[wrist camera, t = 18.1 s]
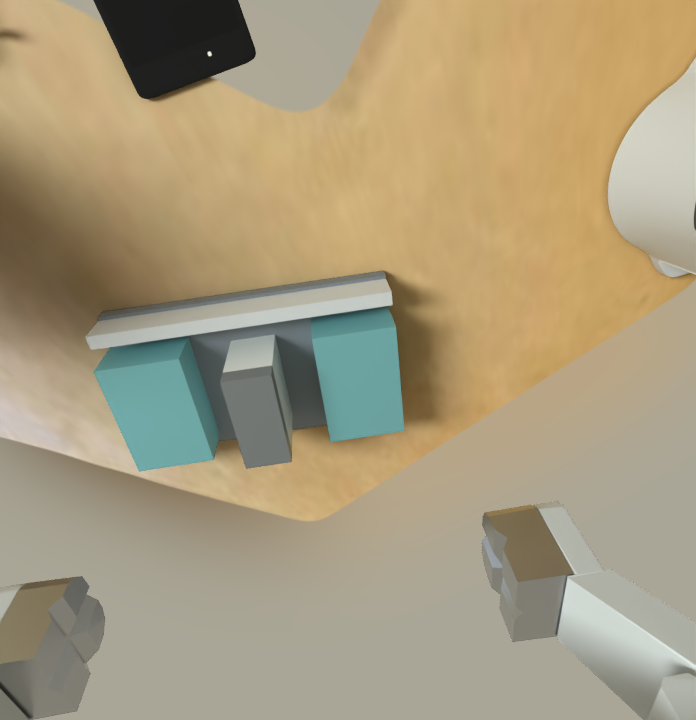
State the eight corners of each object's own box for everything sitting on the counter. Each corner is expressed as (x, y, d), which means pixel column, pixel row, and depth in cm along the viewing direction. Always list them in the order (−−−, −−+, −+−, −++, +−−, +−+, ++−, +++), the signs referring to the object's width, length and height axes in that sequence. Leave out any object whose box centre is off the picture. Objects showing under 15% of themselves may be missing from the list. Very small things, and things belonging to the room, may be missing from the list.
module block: (274, 334, 44) (271, 375, 38) (292, 414, 48) (291, 461, 42) (230, 340, 44) (219, 382, 38) (252, 420, 48) (245, 468, 42)
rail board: (383, 270, 43) (393, 292, 38) (395, 407, 51) (405, 439, 46) (101, 312, 43) (78, 339, 38) (156, 443, 50) (142, 479, 46)
